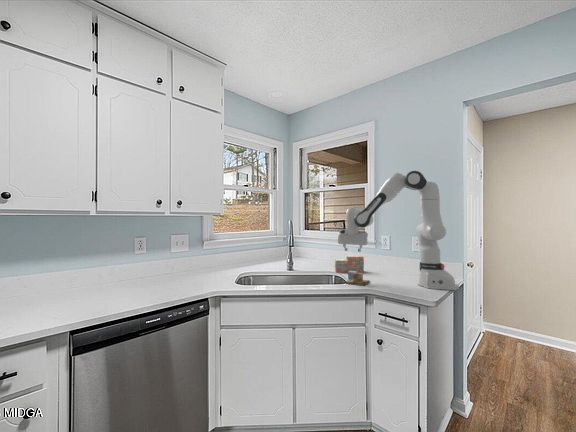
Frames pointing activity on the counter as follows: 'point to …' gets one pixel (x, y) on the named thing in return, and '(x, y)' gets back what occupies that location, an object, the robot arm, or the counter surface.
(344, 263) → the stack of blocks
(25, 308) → the counter surface
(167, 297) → the counter surface
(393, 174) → the robot arm
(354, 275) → the oak block
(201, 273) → the counter surface
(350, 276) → the slate block
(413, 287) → the counter surface
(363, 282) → the baseplate
